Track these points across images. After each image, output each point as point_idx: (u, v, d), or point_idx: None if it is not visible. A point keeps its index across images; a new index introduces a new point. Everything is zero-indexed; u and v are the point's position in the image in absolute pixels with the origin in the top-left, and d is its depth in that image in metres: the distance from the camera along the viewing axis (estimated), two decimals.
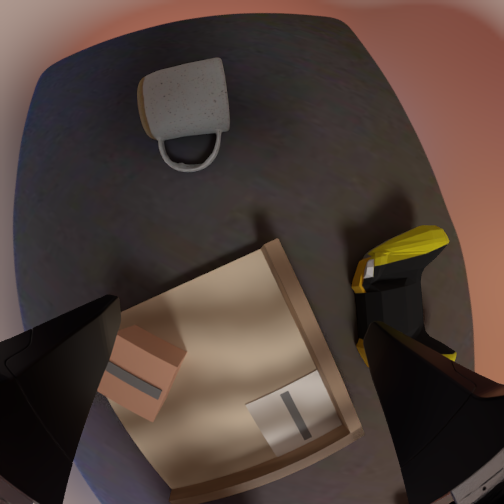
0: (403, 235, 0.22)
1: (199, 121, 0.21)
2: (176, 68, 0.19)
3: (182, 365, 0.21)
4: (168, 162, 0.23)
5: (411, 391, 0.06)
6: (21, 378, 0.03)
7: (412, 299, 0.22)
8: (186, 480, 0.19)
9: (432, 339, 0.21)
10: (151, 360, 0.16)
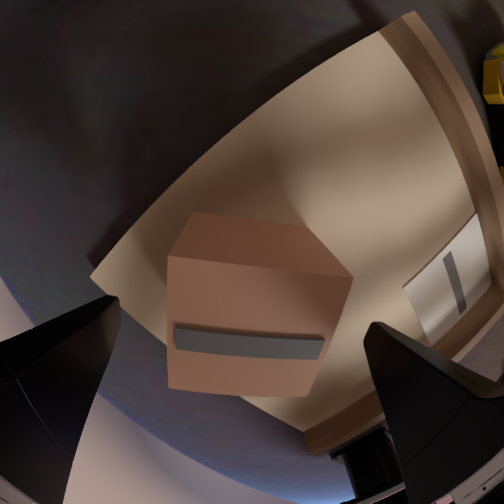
0: None
1: None
2: None
3: None
4: None
5: (411, 391, 0.06)
6: (21, 378, 0.03)
7: None
8: (322, 415, 0.17)
9: None
10: (291, 284, 0.07)
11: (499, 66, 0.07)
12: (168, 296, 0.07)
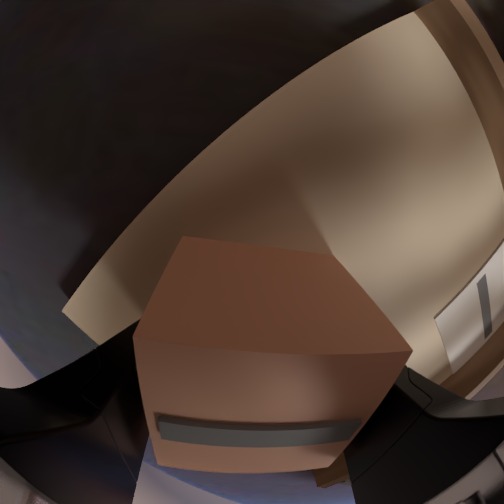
0: None
1: None
2: None
3: None
4: None
5: None
6: (101, 408, 0.04)
7: None
8: None
9: None
10: (328, 371, 0.04)
11: None
12: (142, 385, 0.04)
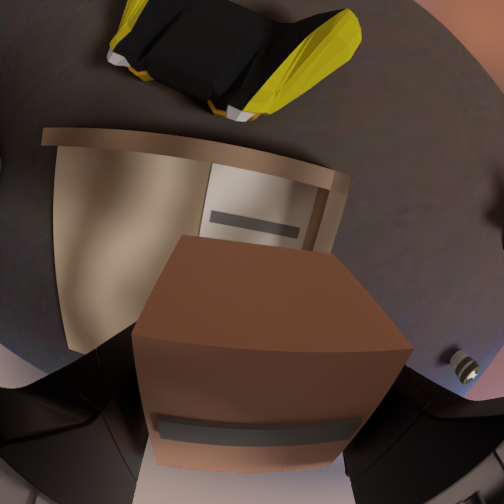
0: None
1: None
2: None
3: (120, 287, 0.19)
4: None
5: None
6: (101, 409, 0.04)
7: (212, 15, 0.11)
8: None
9: (299, 22, 0.12)
10: (328, 369, 0.04)
11: None
12: (141, 384, 0.04)
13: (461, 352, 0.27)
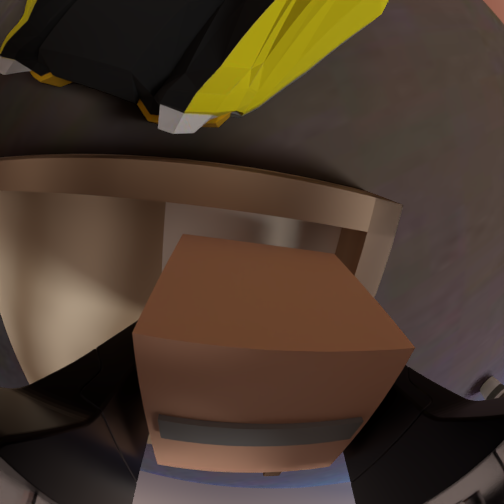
0: None
1: None
2: None
3: None
4: None
5: None
6: (101, 409, 0.04)
7: None
8: None
9: None
10: (330, 368, 0.04)
11: None
12: (141, 383, 0.04)
13: (493, 379, 0.19)
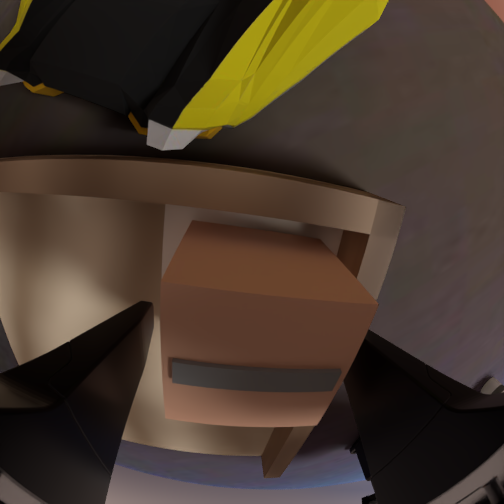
0: None
1: None
2: None
3: None
4: None
5: (381, 397, 0.06)
6: (67, 398, 0.03)
7: None
8: (256, 443, 0.16)
9: None
10: (308, 314, 0.06)
11: None
12: (162, 327, 0.06)
13: (493, 380, 0.19)
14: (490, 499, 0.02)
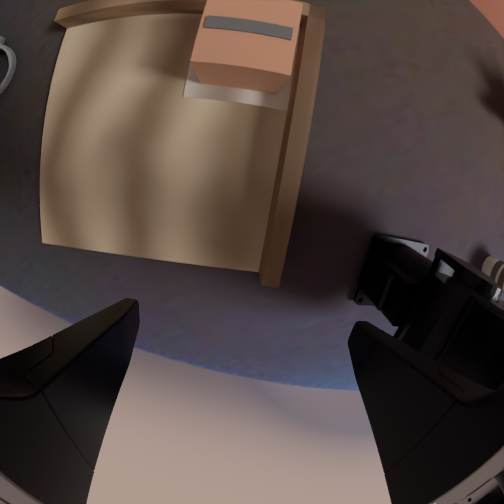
0: None
1: None
2: None
3: (103, 139, 0.16)
4: None
5: (394, 394, 0.06)
6: (46, 389, 0.03)
7: None
8: (252, 241, 0.20)
9: None
10: (269, 1, 0.09)
11: None
12: (207, 3, 0.09)
13: (492, 257, 0.23)
14: (502, 488, 0.02)
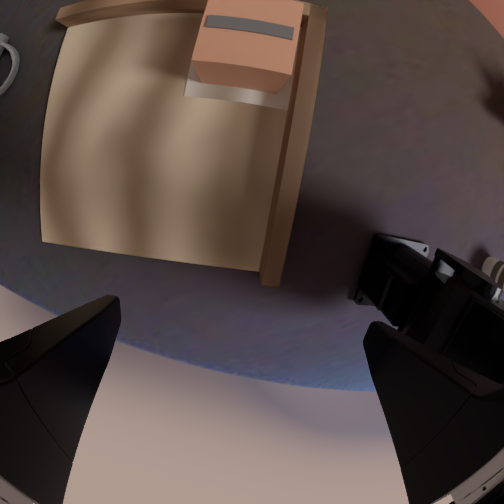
0: None
1: None
2: None
3: (104, 138, 0.16)
4: None
5: (411, 391, 0.06)
6: (21, 378, 0.03)
7: None
8: (253, 241, 0.20)
9: None
10: (271, 0, 0.09)
11: None
12: (208, 3, 0.09)
13: (492, 258, 0.23)
14: None
